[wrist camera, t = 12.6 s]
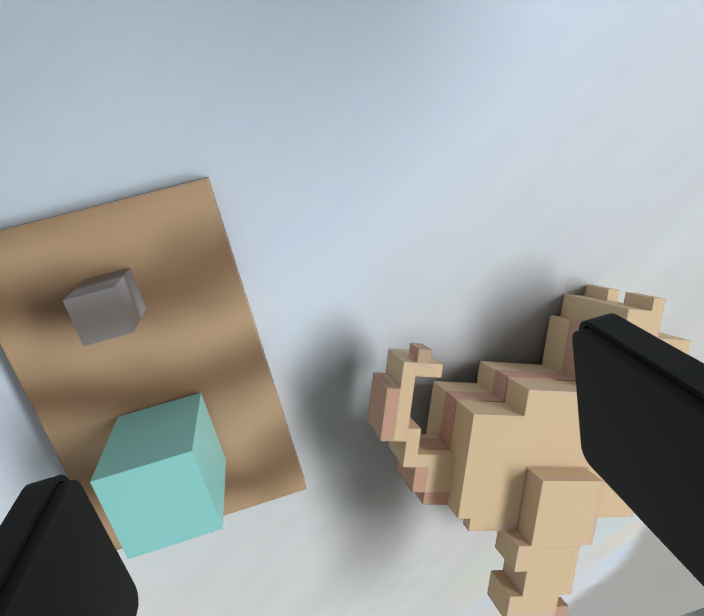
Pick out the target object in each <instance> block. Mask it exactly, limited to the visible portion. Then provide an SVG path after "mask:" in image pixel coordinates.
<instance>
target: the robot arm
mask: <svg viewBox="0 0 704 616" xmlns="http://www.w3.org/2000/svg"><path fill="white" fill-rule="evenodd" d="M572 343H573V355H574V367H575V380H576V392H577V404H578V416H579V428H580V440H581V449H582V452H583V455H584V457H585V459H586V461H587V462H588V464H589V465H590V466H591V467H592V468H593V470H594V471H595V472H596V473H597V474H598V475H599V476H600V477H601V478H602V479H603V480H604V481H605V482H606V483H607V484H608V485H609V486H610V488H611V489H612V490H613V491H614V492H615V493H616V494H617V495H618V496H619V497H620V498H621V499H622V500H623V501H624V502H625V503H626V504H627V506H628V507H629V508H630V509H631V510H632V511H633V512H634V513H635V514H636V515H637V516H638V517H639V518H640V519H641V520H642V521H643V523H644V524H645V525H646V526H647V527H648V528H649V529H650V530H651V531H652V532H653V533H654V534H655V535H656V536H657V537H658V538H659V539H660V541H661V542H662V543H663V544H664V545H665V546H666V547H667V548H668V549H669V550H670V551H671V552H672V553H673V554H674V555H675V556H676V557H677V559H678V560H679V561H680V562H681V563H682V564H683V565H684V566H685V567H686V568H687V569H688V570H689V571H690V572H691V573H692V574H693V576H694V577H695V578H696V579H697V580H698V581H699V582H700V583H701V584H702V585H703V586H704V363H702V362H700V361H698V360H697V359H695V358H693V357H691V356H689V355H688V354H686V353H684V352H682V351H681V350H679V349H677V348H675V347H674V346H672V345H670V344H668V343H666V342H665V341H663V340H661V339H659V338H658V337H656V336H654V335H652V334H650V333H649V332H647V331H645V330H643V329H642V328H640V327H638V326H636V325H634V324H633V323H631V322H629V321H627V320H626V319H624V318H622V317H620V316H619V315H617V314H614V313H609V314H605V315H602V316H599V317H595V318H592V319H588V320H585V321H582V322H581V323H580V326H579V330H578V331H575V332H574V333H573V336H572ZM137 610H138V593H137V589H136V586H135V584H134V582H133V580H132V578H131V577H130V575H129V573H128V571H127V569H126V567H125V565H124V563H123V562H122V560H121V558H120V556H119V554H118V552H117V550H116V548H115V547H114V545H113V543H112V541H111V539H110V537H109V535H108V533H107V531H106V530H105V528H104V526H103V524H102V522H101V520H100V518H99V516H98V515H97V513H96V511H95V509H94V507H93V505H92V503H91V501H90V500H89V498H88V496H87V494H86V492H85V490H84V488H83V486H82V485H81V483H80V482H79V481H78V480H75V479H74V480H69V478H67V477H66V476H65V475H58V476H55V477H51V478H48V479H45V480H41V481H38V482H34V483H31V484H28V485H26V486H25V487H24V488H23V490H22V491H21V493H20V494H19V496H18V498H17V499H16V501H15V503H14V504H13V506H12V507H11V509H10V511H9V512H8V514H7V516H6V517H5V519H4V521H3V522H2V524H1V525H0V616H136V614H137ZM681 616H704V608H702V609H699V610H696V611H693V612H690V613H687V614H684V615H681Z"/></svg>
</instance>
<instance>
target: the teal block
mask: <svg viewBox="0 0 704 616" xmlns="http://www.w3.org/2000/svg"><path fill="white" fill-rule="evenodd" d="M225 470H226V458H225V456H224V453H223V450H222V448H221V445H220V442H219V440H218V437H217V434H216V432H215V429H214V426H213V423H212V421H211V418H210V415H209V413H208V410H207V407H206V405H205V402H204V399H203V397H202V394H201V393H198V394H194V395H191V396H187V397H184V398H180V399H177V400H174V401H170V402H167V403H163V404H160V405H157V406H153V407H150V408H146V409H143V410H140V411H136V412H133V413H129V414H126V415H123V416H119V417H118V418H117V420H116V423H115V425H114V427H113V430H112V432H111V434H110V437H109V439H108V441H107V444H106V446H105V448H104V451H103V453H102V455H101V458H100V460H99V462H98V465H97V467H96V469H95V472H94V474H93V476H92V479H91V481H90V483H91V485H92V487H93V489H94V491H95V493H96V495H97V497H98V499H99V501H100V503H101V505H102V507H103V509H104V511H105V513H106V515H107V518H108V520H109V522H110V524H111V526H112V528H113V530H114V532H115V534H116V536H117V538H118V540H119V542H120V544H121V546H122V548H123V550H124V552H125V554H126V556H127V558H128V559H130V558H133V557H136V556H139V555H142V554H145V553H149V552H152V551H155V550H158V549H161V548H164V547H167V546H170V545H173V544H176V543H180V542H183V541H186V540H189V539H192V538H195V537H198V536H201V535H204V534H207V533H211V532H214V531H217V530H220V529H223V514H224V492H225Z"/></svg>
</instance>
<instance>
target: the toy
mask: <svg viewBox="0 0 704 616" xmlns="http://www.w3.org/2000/svg"><path fill="white" fill-rule="evenodd" d="M618 294H619V290H617V289H611V288H606V287H601V286H595V285H587V286H586V290H585V294H584V296H583V295H572V294H564V298H563V303H562V309H561V315H560V316H554V315H550V320H549V325H548V331H547V337H546V343H545V349H544V355H543V361H542V365H538V364H522V363H506V362H490V361H480V365H479V371H478V378H477V383H464V382H445V381H434V382H433V389H432V396H431V403H430V410H429V417H428V425H427V432H426V434H421V428H420V427H419V426H418V425H417V424H416V423H415V422H414V420H413V419H412V418H411V417H410V413H411V405H412V398H413V391H414V383H415V376H421V377H439V378H441V376H442V369H443V364H442V363H440V362H439V361H438V360H436V359H435V358H433V357H431V355H432V350H431V349H430V348H428V347H427V346H425V345H424V344H418V343H410V349H409V350H401V349H389V350H388V358H387V365H386V373H373V380H372V388H371V396H370V404H369V412H368V420H367V421H368V422H369V424H370V426H371V427H372V429H373V430H374V432H375V433H376V435H377V436H378V438H379V439H380V441H389V442H388V445H389V447H390V448H391V450H392V451H393V453H394V454H395V456H396V457H397V459H398V462H397V469H398V471H399V472H400V474H401V476H402V477H403V479H404V480H405V482H406V483H407V485H408V486H409V488H410V490H411V491H412V492H415V493H416V495H417V496H418V498H419V499H420V501H421V502H422V504H423V505H448V506H449V507H450V509H451V510H452V511H453V513H454V514H455V515H456V517H457V518H458V519H464V521H463V524H464V526H465V527H466V528H467V530H468V531H498V532H497V538H496V544H495V548H496V549H497V550H498V551H499V553H500V554H501V555H502V556H503V558H504V559H505V560H504V566H503V570H494V571H491V575H490V581H489V587H488V593H487V594H488V596H489V597H490V599H491V600H492V602H493V603H494V605H495V606H496V608H497V609H498V611H499V612H500V614H501V615H502V616H567V611H568V605H567V604H566V603H565V602H564V600H563V599H562V598H561V597H559V595H562V594H571V590H572V585H573V579H574V574H575V569H576V564H577V558H578V553H579V548H580V545H592V541H593V536H594V531H595V526H596V521H597V517H633V511H632V510H631V509H630V508H629V507H628V506H627V504H626V503H625V502H624V501H623V500H622V499H621V498H620V497H619V496H618V495H617V494H616V493H615V492H614V491H613V490H612V489H611V488H610V486H609V485H608V484H607V483H606V482H605V481H604V480H603V479H602V478H601V477H600V476H599V475H598V474H597V473H596V472H595V471H594V470H593V468H592V467H591V466H590V465H589V464H588V462H587V461H586V459H585V457H584V455H583V452H582V449H581V440H580V428H579V416H578V404H577V392H576V380H575V367H574V355H573V343H572V336H573V333H574V332H575V331H578V330H579V326H580V323H581V322H582V321H585V320H588V319H592V318H595V317H599V316H602V315H605V314H609V313H614V314H617V315H619V316H620V317H622V318H624V319H626V320H627V321H629V322H631V323H633V324H634V325H636V326H638V327H640V328H642V329H643V330H645V331H647V332H649V333H650V334H652V335H654V336H656V337H658V338H659V339H661V340H663V341H665V342H666V343H668V344H670V345H672V346H674V347H675V348H677V349H679V350H681V351H682V352H684V353H686V354H688V352H689V347H690V342H691V341H689V340H686V339H682V338H678V337H675V336H671V335H667V334H664V333H660V332H659V330H660V325H661V320H662V315H663V310H664V305H665V300H666V299H663V298H658V297H653V296H648V295H643V294H637V293H628V292H626V294H625V300H624V303H620V302H617V299H618Z"/></svg>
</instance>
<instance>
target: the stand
mask: <svg viewBox="0 0 704 616" xmlns="http://www.w3.org/2000/svg"><path fill="white" fill-rule="evenodd" d="M0 344H1V346H2V348H3V350H4V352H5V354H6V356H7V358H8V360H9V362H10V364H11V366H12V368H13V370H14V372H15V374H16V376H17V378H18V380H19V382H20V384H21V386H22V388H23V390H24V392H25V393H26V395H27V397H28V399H29V401H30V403H31V405H32V407H33V409H34V411H35V413H36V415H37V417H38V419H39V421H40V423H41V425H42V427H43V429H44V431H45V433H46V435H47V437H48V439H49V441H50V443H51V444H52V446H53V448H54V450H55V452H56V454H57V456H58V458H59V460H60V462H61V464H62V466H63V468H64V470H65V472H66V474H67V476H68V478H69V480H74V479H75V480H78V481H79V482H80V483H81V485H82V486H83V488H84V490H85V492H86V494H87V496H88V498H89V500H90V501H91V503H92V505H93V507H94V509H95V511H96V513H97V515H98V516H99V518H100V520H101V522H102V524H103V526H104V528H105V530H106V531H107V533H108V535H109V537H110V539H111V541H112V543H113V545H114V547H115V548H116V550H119V549H122V546H121V544H120V542H119V540H118V538H117V536H116V534H115V532H114V530H113V528H112V526H111V524H110V522H109V520H108V518H107V515H106V513H105V511H104V509H103V507H102V505H101V503H100V501H99V499H98V497H97V495H96V493H95V491H94V489H93V487H92V485H91V483H90V481H91V479H92V476H93V474H94V472H95V469H96V467H97V465H98V462H99V460H100V458H101V455H102V453H103V451H104V448H105V446H106V444H107V441H108V439H109V437H110V434H111V432H112V430H113V427H114V425H115V423H116V420H117V418H118V417H119V416H123V415H126V414H129V413H133V412H136V411H140V410H143V409H146V408H150V407H153V406H157V405H160V404H163V403H167V402H170V401H174V400H177V399H180V398H184V397H187V396H191V395H194V394H198V393H201V394H202V397H203V399H204V402H205V405H206V407H207V410H208V413H209V415H210V418H211V421H212V423H213V426H214V429H215V432H216V434H217V437H218V440H219V442H220V445H221V448H222V450H223V453H224V456H225V458H226V470H225V492H224V514H223V516H224V515H227V514H230V513H233V512H236V511H239V510H243V509H246V508H249V507H252V506H255V505H258V504H261V503H264V502H267V501H270V500H274V499H277V498H280V497H283V496H286V495H289V494H292V493H295V492H298V491H301V490H304V489H306V485H305V479H304V476H303V473H302V470H301V467H300V463H299V460H298V457H297V454H296V451H295V448H294V445H293V441H292V438H291V435H290V432H289V429H288V426H287V423H286V419H285V416H284V413H283V410H282V407H281V404H280V401H279V397H278V394H277V391H276V388H275V385H274V382H273V379H272V376H271V372H270V369H269V366H268V363H267V360H266V357H265V354H264V350H263V347H262V344H261V341H260V338H259V335H258V332H257V328H256V325H255V322H254V319H253V316H252V313H251V310H250V306H249V303H248V300H247V297H246V294H245V291H244V288H243V284H242V281H241V278H240V275H239V272H238V269H237V266H236V262H235V259H234V256H233V253H232V250H231V247H230V244H229V241H228V237H227V234H226V231H225V228H224V225H223V222H222V219H221V215H220V212H219V209H218V206H217V203H216V200H215V197H214V193H213V190H212V187H211V184H210V181H209V178H208V177H207V178H203V179H199V180H195V181H191V182H187V183H183V184H179V185H175V186H172V187H168V188H164V189H160V190H156V191H152V192H148V193H144V194H140V195H136V196H132V197H128V198H124V199H120V200H116V201H112V202H108V203H105V204H101V205H97V206H93V207H89V208H85V209H81V210H77V211H73V212H69V213H65V214H61V215H57V216H53V217H49V218H45V219H41V220H37V221H34V222H30V223H26V224H22V225H18V226H14V227H10V228H6V229H2V230H0Z"/></svg>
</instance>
